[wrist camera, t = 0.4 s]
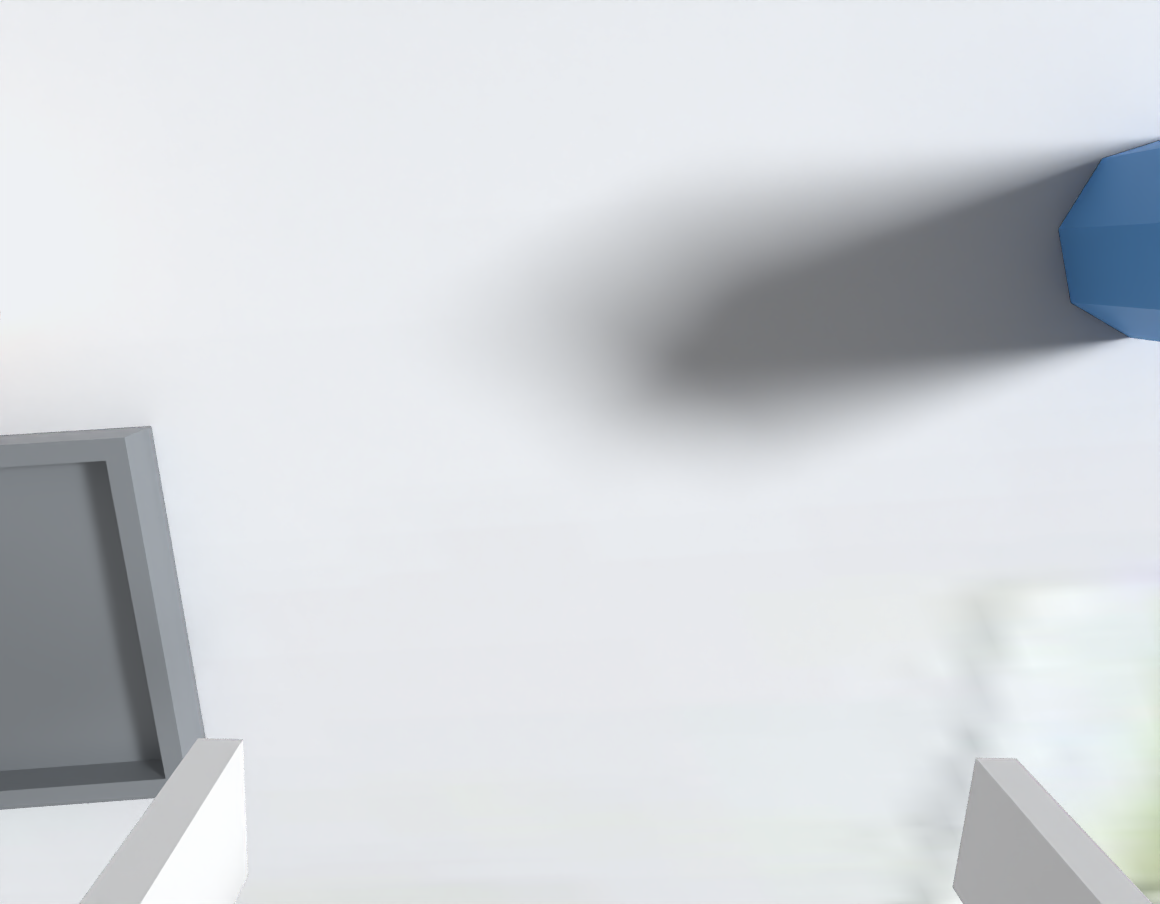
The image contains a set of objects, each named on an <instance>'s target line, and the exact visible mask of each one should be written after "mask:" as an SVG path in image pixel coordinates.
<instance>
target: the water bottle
mask: <svg viewBox="0 0 1160 904" xmlns="http://www.w3.org/2000/svg"><path fill="white" fill-rule="evenodd" d="M1059 235H1060V241H1061V247H1062V253H1063V259H1064V265H1065V271H1066V277H1067V283H1068V289H1069V295H1070V300H1071V303H1072V304H1074V305H1076V306H1077V307H1079V308H1081V309H1082V310H1084V311H1086V312H1088V313H1089V314H1091V315H1093V316H1094V317H1096V318H1098V319H1099V320H1101V321H1103V322H1104V323H1106V324H1108V325H1110V326H1111V327H1113V328H1115V329H1116V330H1118V331H1120V332H1121V333H1123V334H1125V335H1127V336H1128V337H1130V338H1138V339H1145V340H1153V341H1160V141H1156V142H1153V143H1150V144H1147V145H1144V146H1140V147H1137V148H1134V149H1131V150H1128V151H1125V152H1121V153H1118V154H1115V155H1112V156H1109V157H1105V158H1102V160H1101V161H1100V163H1099V165H1098V166H1097V168H1096V169H1095V171H1094V173H1093V174H1092V176H1091V177H1090V179H1089V181H1088V182H1087V184H1086V185H1085V187H1084V189H1083V190H1082V192H1081V194H1080V195H1079V197H1078V198H1077V200H1076V202H1075V203H1074V205H1073V206H1072V208H1071V210H1070V211H1069V213H1068V214H1067V216H1066V218H1065V219H1064V221H1063V222H1062V224H1061V226H1060V227H1059Z"/></svg>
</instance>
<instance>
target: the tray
mask: <svg viewBox="0 0 1160 904" xmlns="http://www.w3.org/2000/svg"><path fill="white" fill-rule="evenodd" d="M198 738H205V733H204V727H203V722H202V716H201V710H200V704H199V699H198V693H197V687H196V681H195V676H194V670H193V664H192V658H191V653H190V647H189V641H188V635H187V630H186V624H185V618H184V612H183V607H182V601H181V595H180V589H179V584H178V578H177V572H176V566H175V561H174V555H173V549H172V543H171V538H170V532H169V526H168V520H167V515H166V509H165V503H164V497H163V492H162V486H161V480H160V474H159V469H158V463H157V457H156V452H155V446H154V440H153V434H152V429H151V426H145V427H129V428H113V429H97V430H81V431H66V432H50V433H34V434H18V435H2V436H0V810H2V809H15V808H28V807H42V806H55V805H68V804H82V803H95V802H108V801H122V800H135V799H148V798H155V797H156V796H157V795H158V793H159V792H160V790H161V789H162V788H163V786H164V785H165V783H166V782H167V781H168V779H169V778H170V776H171V775H172V774H173V772H174V771H175V769H176V768H177V767H178V765H179V764H180V763H181V761H182V760H183V758H184V757H185V756H186V754H187V753H188V751H189V750H190V749H191V747H192V746H193V744H194V743H195V742H196V740H197V739H198Z"/></svg>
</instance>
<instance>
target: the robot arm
mask: <svg viewBox="0 0 1160 904" xmlns="http://www.w3.org/2000/svg"><path fill="white" fill-rule="evenodd" d="M247 877H248V859H247V833H246V808H245V782H244V757H243V739H208V738H198V739H197V740H196V742H195V743H194V744H193V746H192V747H191V749H190V750H189V751H188V753H187V754H186V756H185V757H184V758H183V760H182V761H181V763H180V764H179V765H178V767H177V768H176V769H175V771H174V772H173V774H172V775H171V776H170V778H169V779H168V781H167V782H166V783H165V785H164V786H163V788H162V789H161V790H160V792H159V793H158V795H157V796H156V797H155V799H154V800H153V802H152V803H151V804H150V806H149V807H148V808H147V810H146V811H145V813H144V814H143V815H142V817H141V818H140V820H139V821H138V822H137V824H136V825H135V827H134V828H133V829H132V831H131V832H130V834H129V835H128V836H127V838H126V839H125V841H124V842H123V843H122V845H121V846H120V847H119V849H118V850H117V852H116V853H115V854H114V856H113V857H112V859H111V860H110V861H109V863H108V864H107V866H106V867H105V868H104V870H103V871H102V873H101V874H100V875H99V877H98V878H97V880H96V881H95V882H94V884H93V885H92V886H91V888H90V889H89V891H88V892H87V893H86V895H85V896H84V898H83V899H82V900H81V902H80V903H79V904H235V902H236V900H237V898H238V896H239V894H240V892H241V890H242V887H243V885H244V883H245V881H246V879H247ZM953 889H954V890H955V892H956V893H957V895H958V896H959V898H960V900H961V901H962V903H963V904H1153V903H1152V902H1151V901H1150V900H1149V899H1148V898H1147V897H1146V896H1145V895H1144V894H1143V893H1142V892H1141V891H1140V890H1139V889H1138V887H1137V886H1136V885H1135V884H1134V883H1133V882H1132V881H1131V880H1130V879H1129V878H1128V877H1127V876H1126V875H1125V874H1124V873H1123V872H1122V870H1121V869H1120V868H1119V867H1118V866H1117V865H1116V864H1115V863H1114V862H1113V861H1112V860H1111V859H1110V858H1109V857H1108V856H1107V854H1106V853H1105V852H1104V851H1103V850H1102V849H1101V848H1100V847H1099V846H1098V845H1097V844H1096V843H1095V842H1094V841H1093V840H1092V839H1091V837H1090V836H1089V835H1088V834H1087V833H1086V832H1085V831H1084V830H1083V829H1082V828H1081V827H1080V826H1079V825H1078V824H1077V823H1076V822H1075V820H1074V819H1073V818H1072V817H1071V816H1070V815H1069V814H1068V813H1067V812H1066V811H1065V810H1064V809H1063V808H1062V807H1061V806H1060V805H1059V803H1058V802H1057V801H1056V800H1055V799H1054V798H1053V797H1052V796H1051V795H1050V794H1049V793H1048V792H1047V791H1046V790H1045V789H1044V788H1043V786H1042V785H1041V784H1040V783H1039V782H1038V781H1037V780H1036V779H1035V778H1034V777H1033V776H1032V775H1031V774H1030V773H1029V772H1028V770H1027V769H1026V768H1025V767H1024V766H1023V765H1022V764H1021V763H1020V762H1019V761H1018V760H1017V759H1008V758H976V759H975V764H974V770H973V776H972V781H971V787H970V792H969V798H968V804H967V809H966V815H965V820H964V826H963V832H962V837H961V843H960V849H959V854H958V860H957V865H956V871H955V877H954V882H953Z"/></svg>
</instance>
